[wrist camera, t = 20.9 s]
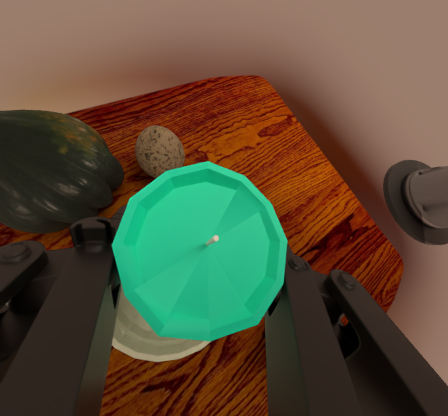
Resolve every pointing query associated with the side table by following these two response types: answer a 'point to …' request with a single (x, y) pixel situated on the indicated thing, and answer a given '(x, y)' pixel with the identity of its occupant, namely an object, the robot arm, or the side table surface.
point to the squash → (52, 171)
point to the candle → (200, 253)
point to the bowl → (147, 337)
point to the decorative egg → (159, 151)
